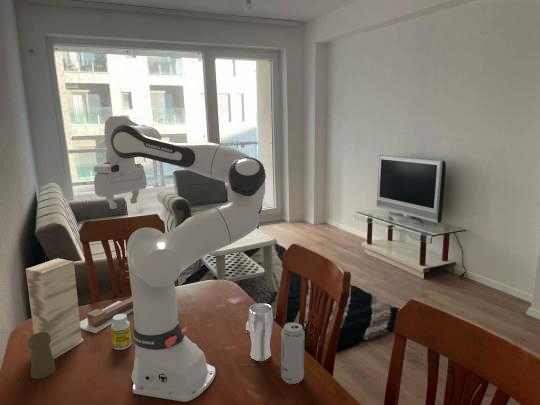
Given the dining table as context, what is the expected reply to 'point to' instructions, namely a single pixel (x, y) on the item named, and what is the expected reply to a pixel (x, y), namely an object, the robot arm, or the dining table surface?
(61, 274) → the stand
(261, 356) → the beer glass
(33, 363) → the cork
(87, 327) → the mat
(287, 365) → the energy drink can
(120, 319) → the supplement bottle
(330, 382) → the dining table surface
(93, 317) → the mallet
